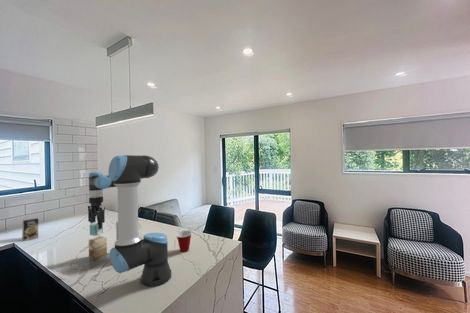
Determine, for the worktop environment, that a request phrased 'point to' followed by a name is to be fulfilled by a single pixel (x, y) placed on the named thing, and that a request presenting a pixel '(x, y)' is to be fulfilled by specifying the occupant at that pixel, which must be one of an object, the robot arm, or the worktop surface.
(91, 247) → the beech block
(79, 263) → the slate board
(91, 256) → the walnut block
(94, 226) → the teal block
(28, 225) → the coffee box
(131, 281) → the worktop surface
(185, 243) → the plastic cup
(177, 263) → the worktop surface
